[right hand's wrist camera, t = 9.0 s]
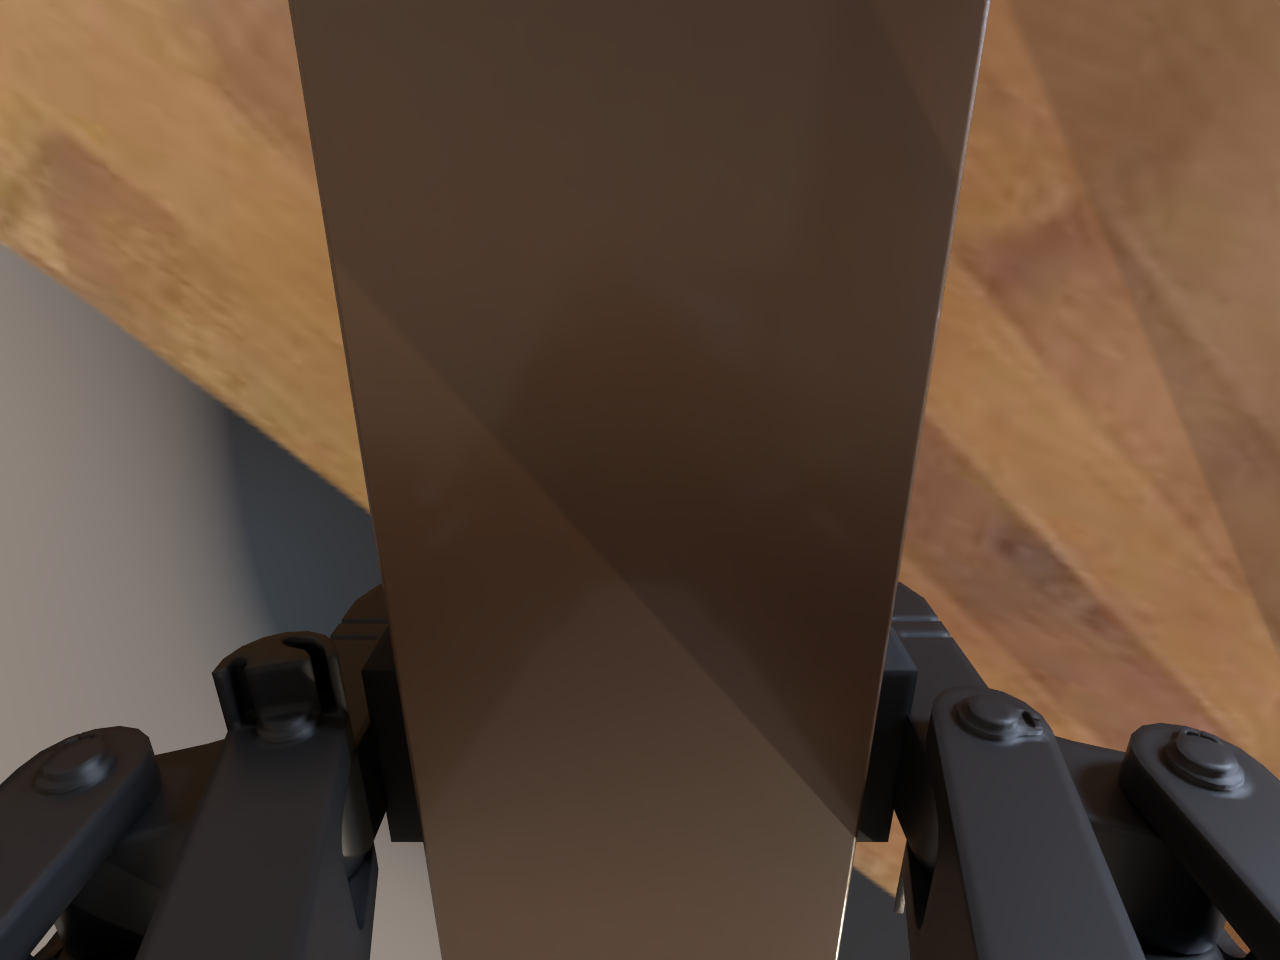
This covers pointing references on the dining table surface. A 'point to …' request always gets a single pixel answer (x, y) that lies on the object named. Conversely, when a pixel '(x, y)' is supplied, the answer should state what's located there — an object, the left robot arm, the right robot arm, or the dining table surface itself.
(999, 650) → the dining table surface
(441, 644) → the bar
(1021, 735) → the right robot arm
